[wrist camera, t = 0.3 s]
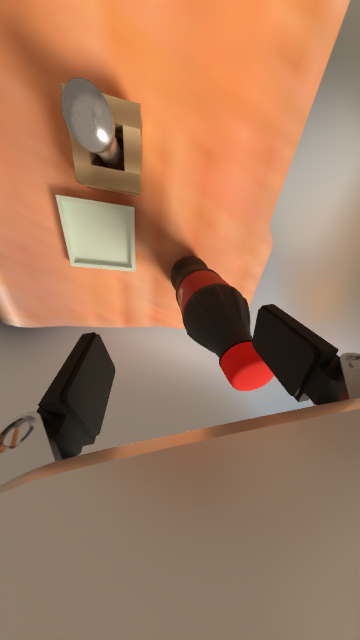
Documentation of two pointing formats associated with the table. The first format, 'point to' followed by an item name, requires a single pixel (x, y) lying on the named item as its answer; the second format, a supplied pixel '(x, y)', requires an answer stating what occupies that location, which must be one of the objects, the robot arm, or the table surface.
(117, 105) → the square wooden holder
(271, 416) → the robot arm
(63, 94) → the pin
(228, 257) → the table surface
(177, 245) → the table surface
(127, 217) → the tray
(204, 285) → the cola bottle
